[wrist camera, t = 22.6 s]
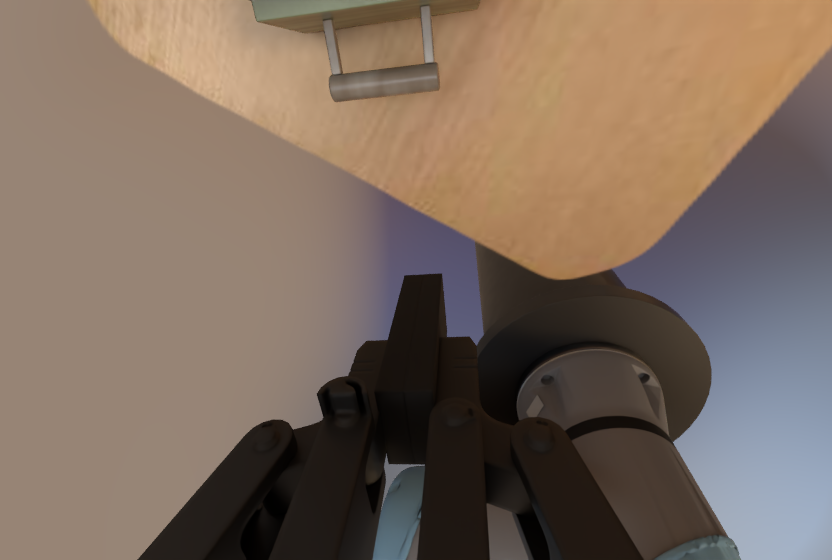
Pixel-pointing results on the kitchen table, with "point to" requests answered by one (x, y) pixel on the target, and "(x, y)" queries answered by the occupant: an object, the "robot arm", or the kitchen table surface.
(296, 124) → the kitchen table surface
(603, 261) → the kitchen table surface
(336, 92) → the drawer
